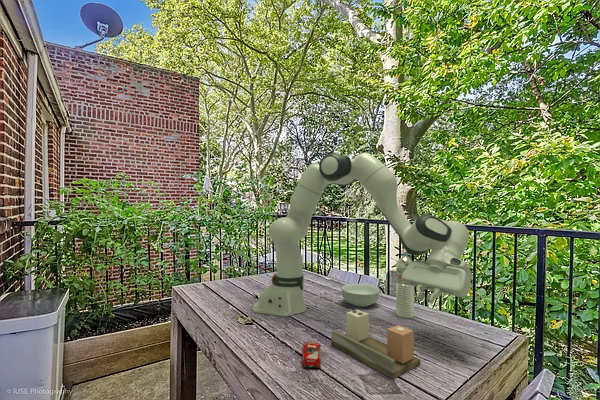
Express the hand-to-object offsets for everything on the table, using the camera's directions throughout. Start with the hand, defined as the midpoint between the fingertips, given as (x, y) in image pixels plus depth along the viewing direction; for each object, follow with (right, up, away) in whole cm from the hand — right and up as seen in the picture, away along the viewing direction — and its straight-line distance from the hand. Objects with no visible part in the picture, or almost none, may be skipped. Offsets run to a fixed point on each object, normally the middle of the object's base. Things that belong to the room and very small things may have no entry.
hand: (424, 300), depth 91 cm
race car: (-34, -16, -4) cm, 38 cm away
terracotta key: (-10, -13, -7) cm, 18 cm away
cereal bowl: (-10, -17, +44) cm, 48 cm away
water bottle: (+5, -16, +29) cm, 34 cm away
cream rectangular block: (-19, -14, +6) cm, 24 cm away
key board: (-16, -15, -2) cm, 22 cm away
